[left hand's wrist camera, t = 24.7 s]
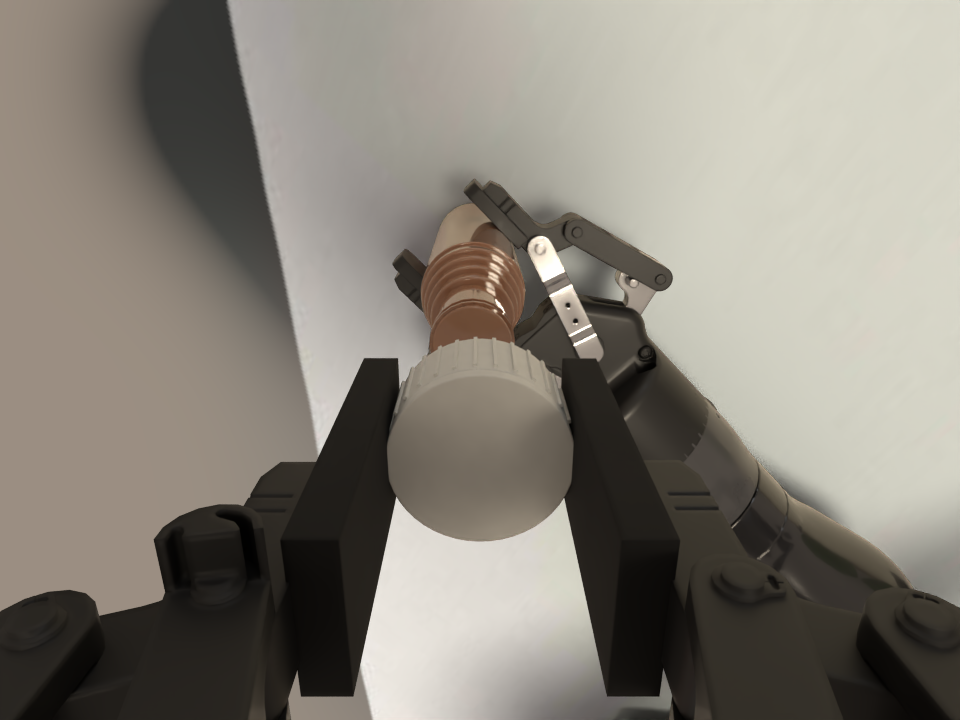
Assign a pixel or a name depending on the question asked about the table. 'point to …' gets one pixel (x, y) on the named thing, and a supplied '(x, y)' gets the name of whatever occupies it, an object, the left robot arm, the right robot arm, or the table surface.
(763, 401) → the table surface
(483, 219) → the bottle
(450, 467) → the cap
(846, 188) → the table surface
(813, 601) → the right robot arm
